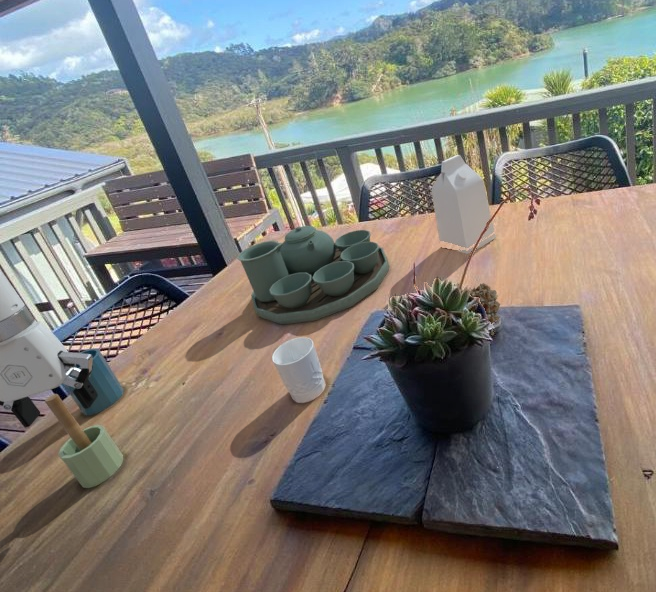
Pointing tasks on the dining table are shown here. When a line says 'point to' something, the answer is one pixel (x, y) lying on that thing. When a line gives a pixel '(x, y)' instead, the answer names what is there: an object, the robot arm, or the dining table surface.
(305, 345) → the white cup
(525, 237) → the dining table surface
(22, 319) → the robot arm
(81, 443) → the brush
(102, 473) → the holder
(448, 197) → the milk
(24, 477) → the dining table surface
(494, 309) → the pine cone
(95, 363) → the blue faceted cup
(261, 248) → the tea set
